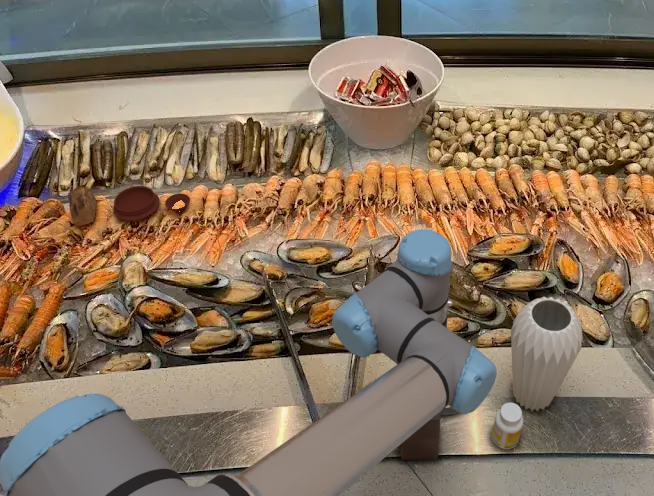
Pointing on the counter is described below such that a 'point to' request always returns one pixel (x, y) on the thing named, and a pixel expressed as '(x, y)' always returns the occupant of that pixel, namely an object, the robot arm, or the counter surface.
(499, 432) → the supplement bottle
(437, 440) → the stand
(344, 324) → the robot arm
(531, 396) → the vase
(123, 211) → the pottery
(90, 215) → the decorative rock
